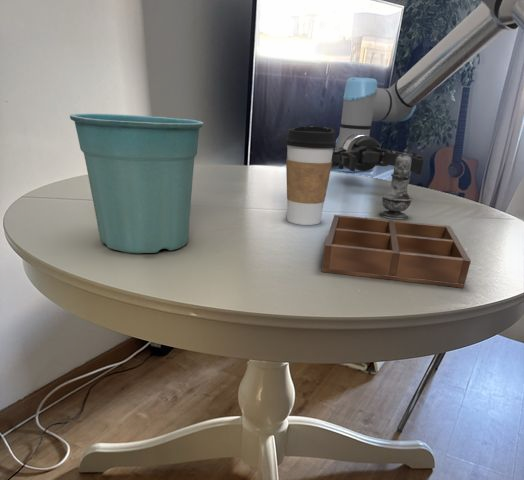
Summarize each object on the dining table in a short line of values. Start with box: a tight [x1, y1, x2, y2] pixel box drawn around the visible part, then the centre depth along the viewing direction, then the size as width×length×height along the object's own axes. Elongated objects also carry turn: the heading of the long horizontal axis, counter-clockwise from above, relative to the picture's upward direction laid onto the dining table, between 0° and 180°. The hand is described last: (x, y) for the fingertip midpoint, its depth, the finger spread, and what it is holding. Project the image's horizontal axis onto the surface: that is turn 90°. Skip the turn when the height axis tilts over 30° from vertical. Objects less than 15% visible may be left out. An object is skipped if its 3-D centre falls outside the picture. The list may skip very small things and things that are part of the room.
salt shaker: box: [379, 148, 414, 220], centre depth 89 cm, size 6×6×12 cm
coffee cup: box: [284, 125, 336, 226], centre depth 81 cm, size 8×8×15 cm
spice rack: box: [321, 214, 472, 289], centre depth 66 cm, size 17×17×4 cm
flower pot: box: [69, 113, 204, 254], centre depth 65 cm, size 16×16×16 cm
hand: (387, 165), depth 95 cm, fingers open, 13 cm apart
